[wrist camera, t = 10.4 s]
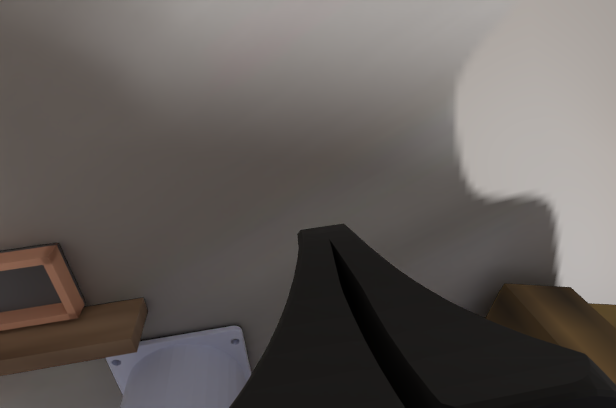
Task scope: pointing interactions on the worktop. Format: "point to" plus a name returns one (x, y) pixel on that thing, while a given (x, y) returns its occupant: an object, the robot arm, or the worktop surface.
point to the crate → (560, 320)
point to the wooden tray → (74, 338)
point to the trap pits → (37, 287)
